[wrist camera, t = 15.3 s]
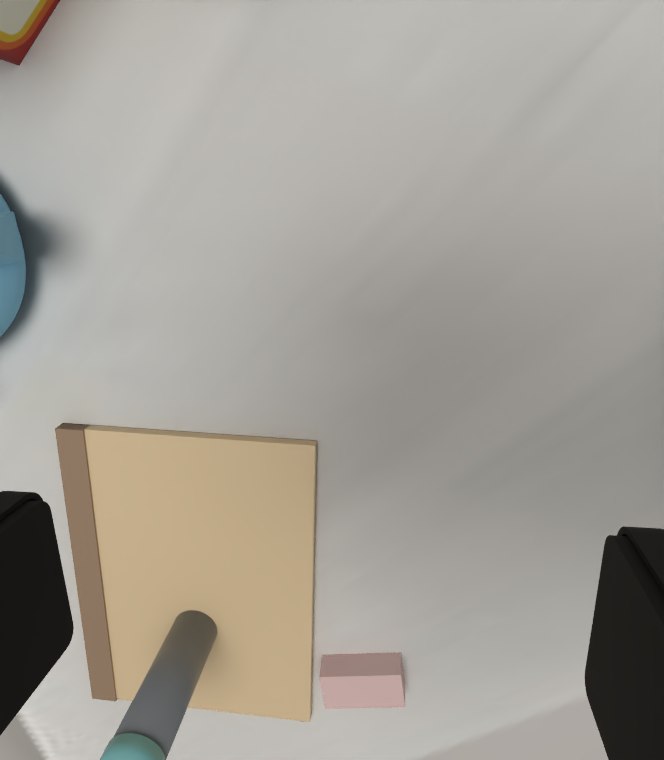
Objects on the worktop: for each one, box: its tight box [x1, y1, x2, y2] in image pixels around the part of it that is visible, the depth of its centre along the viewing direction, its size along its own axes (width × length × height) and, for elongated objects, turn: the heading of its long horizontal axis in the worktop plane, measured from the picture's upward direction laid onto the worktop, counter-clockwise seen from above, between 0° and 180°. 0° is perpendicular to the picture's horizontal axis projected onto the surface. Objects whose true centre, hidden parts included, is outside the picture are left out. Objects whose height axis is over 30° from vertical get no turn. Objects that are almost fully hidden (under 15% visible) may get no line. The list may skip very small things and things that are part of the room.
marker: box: [100, 610, 217, 760], centre depth 38 cm, size 4×4×12 cm
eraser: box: [319, 652, 405, 709], centre depth 43 cm, size 6×3×2 cm, turn 98°
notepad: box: [55, 423, 317, 722], centre depth 42 cm, size 18×24×1 cm
